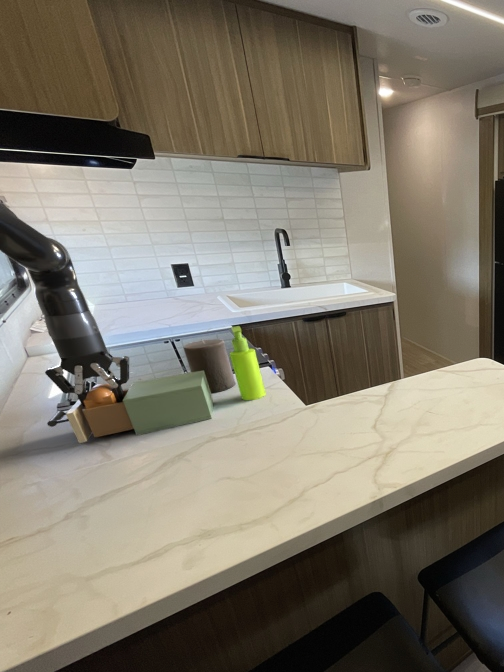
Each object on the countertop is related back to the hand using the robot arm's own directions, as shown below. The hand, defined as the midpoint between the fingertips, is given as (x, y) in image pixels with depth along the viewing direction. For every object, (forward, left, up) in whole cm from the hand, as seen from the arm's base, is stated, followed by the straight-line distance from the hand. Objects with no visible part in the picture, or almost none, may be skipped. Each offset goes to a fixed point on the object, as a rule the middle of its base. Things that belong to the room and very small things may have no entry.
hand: (105, 403), depth 93 cm
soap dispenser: (+29, +3, -7) cm, 30 cm away
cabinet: (+12, 0, -7) cm, 14 cm away
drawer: (0, 0, -6) cm, 6 cm away
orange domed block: (0, 0, 0) cm, 0 cm away
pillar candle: (+20, +18, -7) cm, 28 cm away
